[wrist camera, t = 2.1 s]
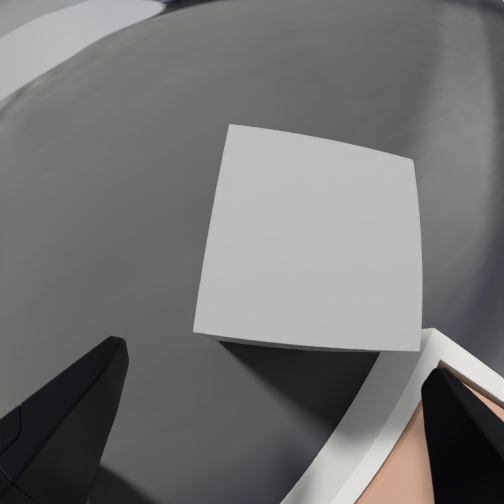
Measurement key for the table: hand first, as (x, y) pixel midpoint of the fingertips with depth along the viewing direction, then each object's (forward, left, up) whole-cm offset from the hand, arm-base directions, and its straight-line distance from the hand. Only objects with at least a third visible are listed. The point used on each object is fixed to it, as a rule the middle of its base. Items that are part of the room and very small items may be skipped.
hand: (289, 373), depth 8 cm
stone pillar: (+3, +1, -10) cm, 11 cm away
